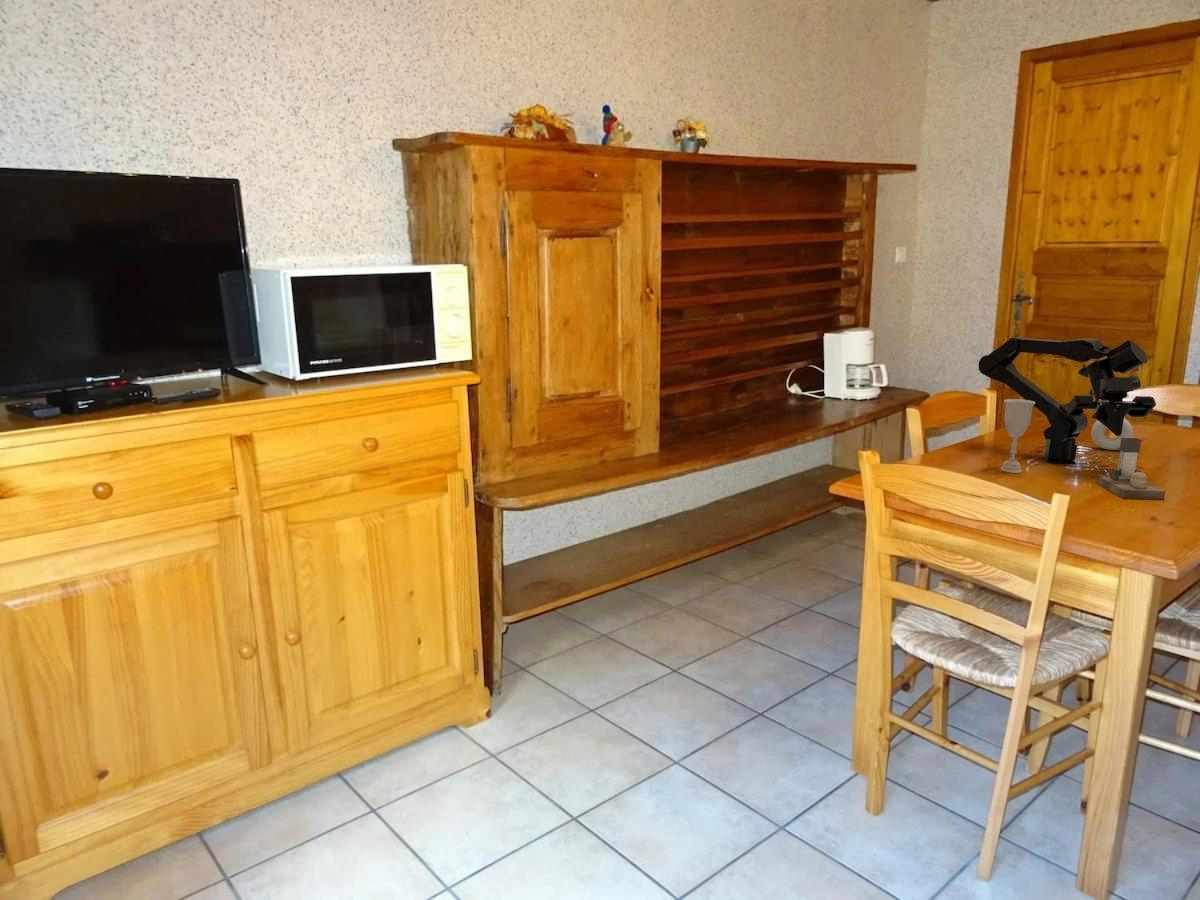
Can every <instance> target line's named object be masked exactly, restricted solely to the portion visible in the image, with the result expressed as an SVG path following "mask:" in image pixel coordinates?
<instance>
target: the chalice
mask: <svg viewBox="0 0 1200 900" xmlns="http://www.w3.org/2000/svg"><path fill="white" fill-rule="evenodd" d="M1003 401H1004V404H1005V407H1004V408H1005V409H1004V418H1003V420H1004V424H1005V425H1004V426H1005V429H1006V431H1007V434H1008V436H1009V437H1012V442H1011V443H1010V446H1011V450H1009V453H1010V457H1009V459H1007V460H1005V461H1004V462H1003V464H1002V466H1001V467H1000V468H999V469H1000V471H1003V472H1006V473H1016V474H1017V473H1018V474H1019V473H1022V472H1023V470H1022V468H1021V467H1022V466H1021V464H1020V462H1019V461H1017V459H1016V455H1017V454H1018V451H1017V447H1018V446H1019V444H1018V439H1019V438H1021V437H1022V436H1023V434H1024V433H1025V432H1026V431H1027V430H1028V428H1029V425H1030V423H1031V421H1032V414H1033V413H1032V412H1033V407H1034V404H1035V402H1034V401H1030V400H1025V399H1023V398H1022V399H1019V398H1018V399H1017V398H1008V399H1004V400H1003Z"/></svg>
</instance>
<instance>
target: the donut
mask: <svg viewBox="0 0 1200 900" xmlns="http://www.w3.org/2000/svg"><path fill="white" fill-rule="evenodd" d="M1107 429H1108V428H1107V427H1106V426H1105V425H1104V424H1102V423H1101V422H1100V421H1098V420H1097V419H1096V421H1095V422H1094V423H1093V425H1092V428H1091V438H1092V440H1093V442H1094V443H1095V444H1096V446H1098V447H1099V448H1102V449H1104V450H1108V451H1117V450H1119V449H1120V443H1121V438H1133V436H1134V429H1133V427H1132V423H1130V422H1129V421H1128V420H1127V419H1126V418H1124V421H1123V427H1122V434H1121V435H1120V436H1115V437H1113V438H1111V437H1108V436H1107V434H1106V430H1107Z"/></svg>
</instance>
